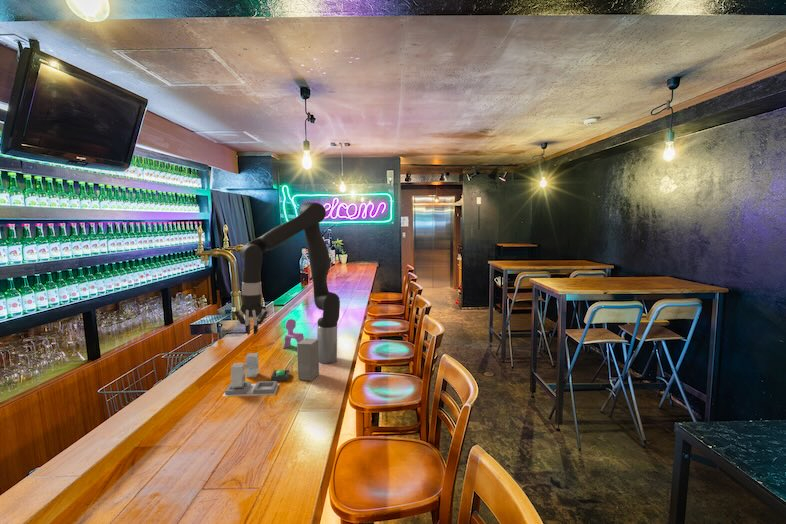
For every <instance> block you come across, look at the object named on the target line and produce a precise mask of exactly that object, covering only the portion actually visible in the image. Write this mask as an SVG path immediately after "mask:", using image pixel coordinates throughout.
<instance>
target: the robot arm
mask: <svg viewBox="0 0 786 524" xmlns="http://www.w3.org/2000/svg"><path fill="white" fill-rule="evenodd" d="M326 215H327V211H326V207H324V205H323V204H321V203H319V202H315V201H314V202H312V201H311V202H310V201H309V202H308V201H307V202H304V203H303V204H302V205H301V206H300V208H299V215H297V216H296V217H294V218H292V219H290V220H289V221H286V222H283V223H282V224H279V225H276V226H275V227H273V228H272V229H270V230H269V231H267V232H265V233H264V234H262V235H261V236H259V237H257V238H255V239H253V240H250V241H249V242H247V243H246V244H244V245H243V246H242V247H241V249H240V251H239V253H240V256H241V258H242V259H243V260H244V264H243V266H244V268H243V269H242V272H241V274H242V275H241V276H242V277H241V279H242V280H241V307H240V309H236V310H235V311H234V315H235V316H236V318H237V320H238V322H239V323H240V324H241V325H244V326H245V333H246V335H250V334H251V324H250V323H251V322H250V321H251V318H252V321H253V335H256V334H257V333H258V332H259V325H262V324H263V322H264V320H265V319H266V317H267V315H269V309H264V308H263V307H264V306H263V305H262V293H263V292H262V281H261V275H262V274H261V270H262V264H263V254H264V253H266V252H267V251H272V250H273V249H275V248H277V247H278V246H280V245H282V244H283V243H285V242H286V241H287V240H289V239H291V238H292V237H294V236H295V235H297V234H299V233H301V232H302V231H304V234H305V235H304V236H305V242H306V248H307V255H308V262H309V267H310V271H311V272H310V273H311V277H312V285H313V299H314V301H313V302H314V305H315V307H316V308H317V309H319V310H320V311H322V317H320V318H319V319H317V336H316V337H317V338H316V339H318V351H319V364H333V363H337V360H338V359H337V358H338V322H339V318H340V310H341V309H340V307H341V299H340V297H339V295H338V294H337V293H335V292H331V291H329V287H328V281H327V280H328V274H329V271H330V268H331V259H330V252H329V249H328V246H327V244H326V241H325V240H324V238H323V236H322V232H321V229H320V223H322V221H324V219H325V218H326ZM242 313H243V315H244V316H245V318H244V316H243V315H242ZM260 313H261V315H262V316H261V317H260V319H259V314H260Z"/></svg>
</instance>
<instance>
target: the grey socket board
mask: <svg viewBox="0 0 786 524" xmlns="http://www.w3.org/2000/svg"><path fill="white" fill-rule="evenodd" d="M279 386H280V382H278V381H271V380H269V381H268V380H264V381H263V380H262V381H261V380H260V381H259V380H258V381H257V382H256V383H252V382H251V381H245V388H244V389H231V382H230V383H229V384H228V386H227V388H226V389H225V390H224V391H225V392H224V393H223V394H222V395H221V397H255V396H256V397H257V396H276V393H277V391H278V388H279Z"/></svg>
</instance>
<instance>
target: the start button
mask: <svg viewBox="0 0 786 524" xmlns="http://www.w3.org/2000/svg"><path fill="white" fill-rule="evenodd" d="M276 370H277V369H276ZM285 370H286V369H282V368H281V369H278V370H277V371H276V376H278V375H285Z"/></svg>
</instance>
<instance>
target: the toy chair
mask: <svg viewBox="0 0 786 524" xmlns="http://www.w3.org/2000/svg"><path fill="white" fill-rule="evenodd" d="M296 325H297V321H296V320H295V319H293V318H288V319H287V320H286V322H285V325H284V326H285V329H286V330H287V334H285V337H284V344H283V347H282V349H283V350H284V349H286V348H288V347H289V346H291V343H292V342H291V339H294V340H296V343H299V342H301V340H304V339H305V336H304V333H302V332H295V331H294V330H295V329H296ZM295 352H297V348H296V350H295Z"/></svg>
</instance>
